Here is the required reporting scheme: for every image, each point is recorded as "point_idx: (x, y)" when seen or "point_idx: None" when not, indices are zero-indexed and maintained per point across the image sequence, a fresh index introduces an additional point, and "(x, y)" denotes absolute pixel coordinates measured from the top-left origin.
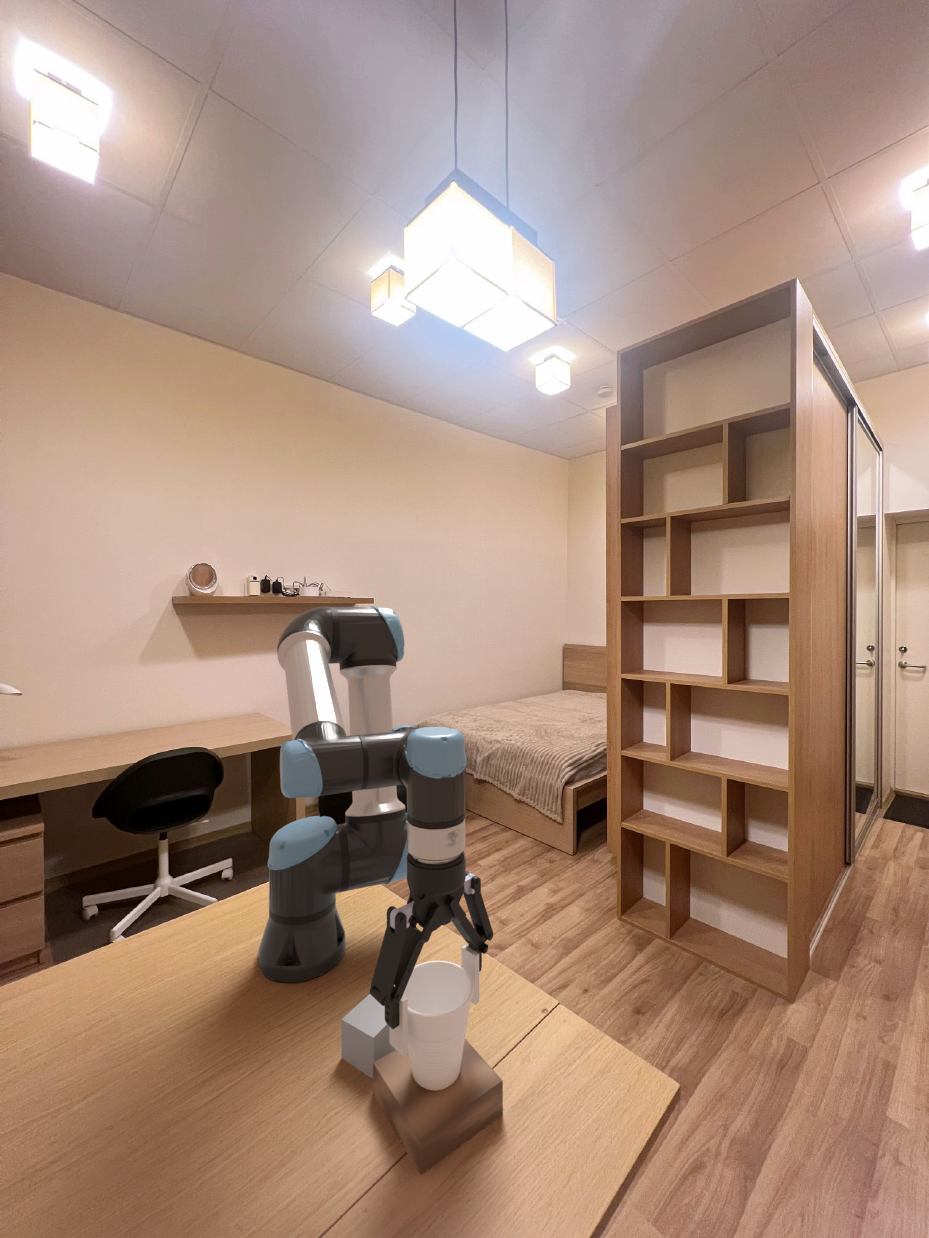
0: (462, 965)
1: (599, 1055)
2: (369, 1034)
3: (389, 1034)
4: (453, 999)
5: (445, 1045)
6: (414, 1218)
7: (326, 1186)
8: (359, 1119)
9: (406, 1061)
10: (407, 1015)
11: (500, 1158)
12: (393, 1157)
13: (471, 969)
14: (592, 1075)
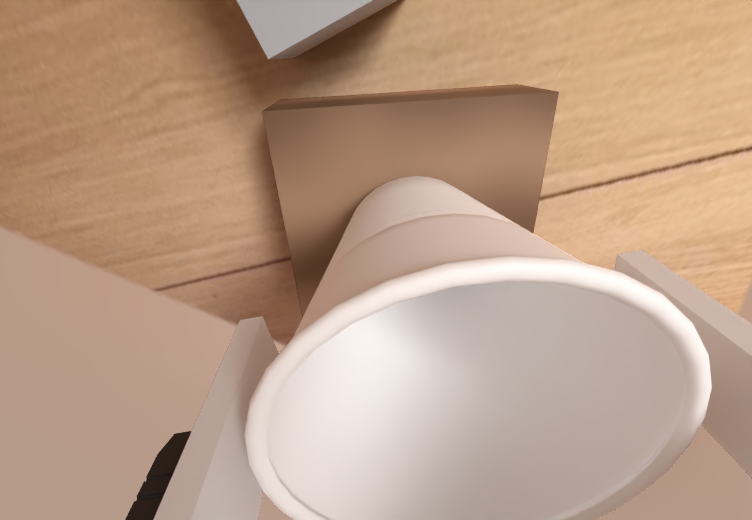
0: (735, 353)
1: (726, 282)
2: (257, 30)
3: (230, 342)
4: (560, 285)
5: (404, 402)
6: (282, 334)
7: (151, 235)
8: (234, 143)
9: (357, 165)
10: (256, 515)
11: None
12: (281, 250)
13: (724, 420)
14: None
